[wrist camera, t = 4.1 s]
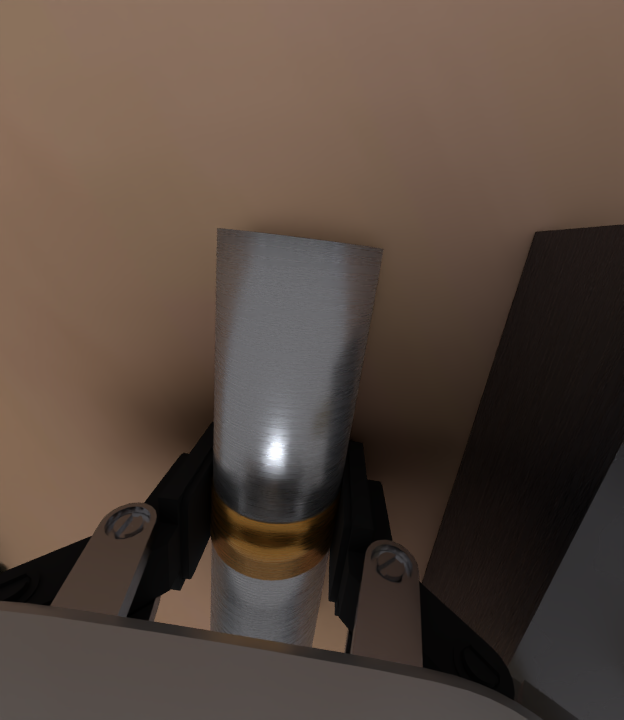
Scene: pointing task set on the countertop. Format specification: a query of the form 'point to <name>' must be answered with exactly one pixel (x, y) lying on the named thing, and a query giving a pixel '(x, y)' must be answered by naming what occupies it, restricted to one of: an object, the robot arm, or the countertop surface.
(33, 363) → the countertop surface
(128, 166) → the countertop surface
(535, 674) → the grey plate with feet
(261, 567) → the tube
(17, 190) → the countertop surface
